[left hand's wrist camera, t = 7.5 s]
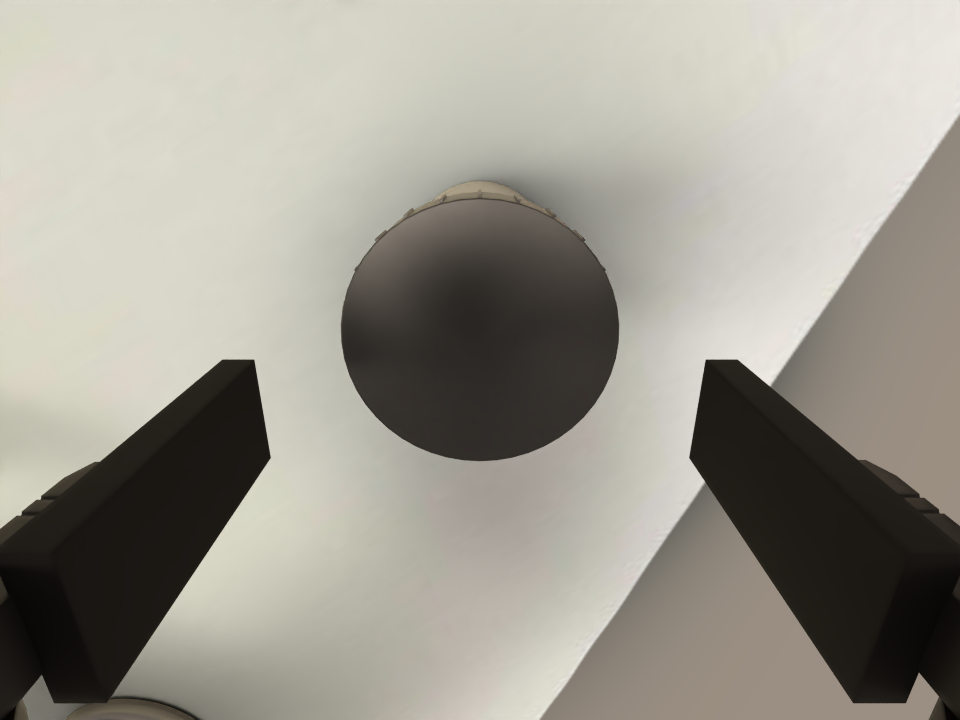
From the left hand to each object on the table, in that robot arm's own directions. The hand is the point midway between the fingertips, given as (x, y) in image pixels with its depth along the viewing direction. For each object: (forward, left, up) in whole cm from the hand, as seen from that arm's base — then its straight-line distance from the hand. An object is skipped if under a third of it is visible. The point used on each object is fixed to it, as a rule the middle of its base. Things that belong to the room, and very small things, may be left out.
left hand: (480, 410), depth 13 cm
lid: (0, 0, -5) cm, 5 cm away
